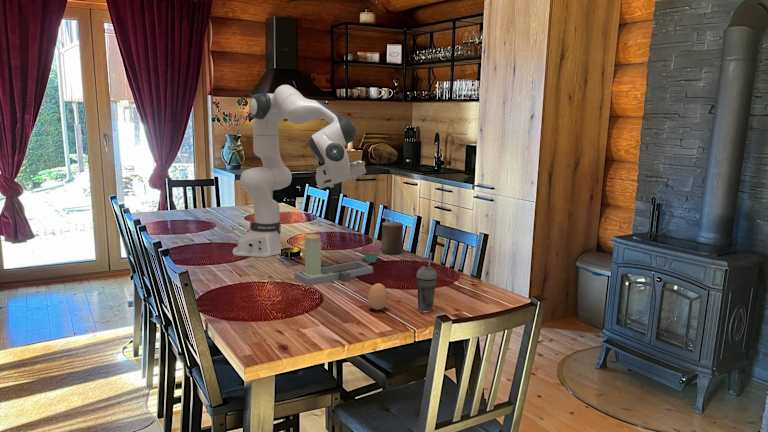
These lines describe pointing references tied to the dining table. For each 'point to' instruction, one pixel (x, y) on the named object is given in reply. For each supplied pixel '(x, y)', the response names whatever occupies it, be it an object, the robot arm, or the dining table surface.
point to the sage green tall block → (312, 256)
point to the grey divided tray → (331, 276)
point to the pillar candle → (392, 238)
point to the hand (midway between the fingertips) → (342, 182)
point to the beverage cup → (426, 286)
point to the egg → (378, 296)
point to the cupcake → (370, 251)
